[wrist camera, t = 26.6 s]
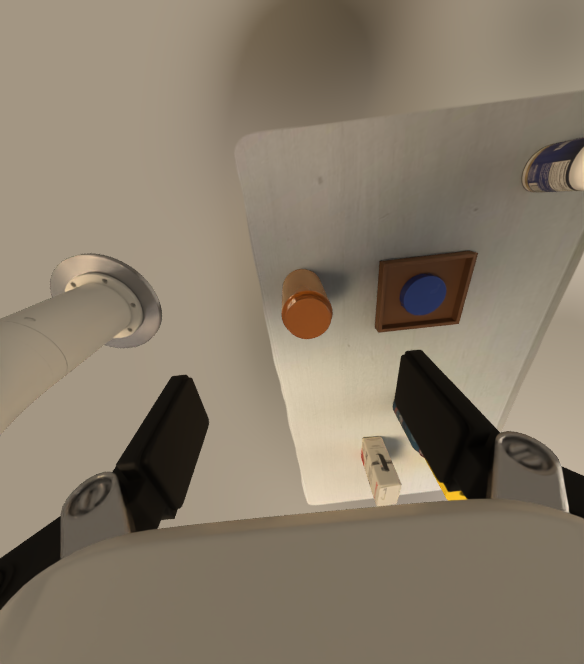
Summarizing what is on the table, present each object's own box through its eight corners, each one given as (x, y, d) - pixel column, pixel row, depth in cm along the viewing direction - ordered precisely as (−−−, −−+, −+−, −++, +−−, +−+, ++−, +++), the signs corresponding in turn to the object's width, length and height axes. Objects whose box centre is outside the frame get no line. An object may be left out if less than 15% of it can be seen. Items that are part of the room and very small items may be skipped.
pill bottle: (566, 136, 30) (677, 110, 22) (561, 181, 33) (658, 174, 24) (520, 156, 31) (609, 139, 23) (519, 199, 34) (598, 198, 25)
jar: (286, 309, 41) (286, 345, 31) (279, 272, 38) (276, 299, 27) (323, 303, 41) (336, 338, 30) (319, 265, 37) (332, 290, 27)
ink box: (379, 456, 63) (397, 506, 53) (360, 457, 63) (375, 507, 53) (382, 435, 59) (402, 485, 48) (362, 437, 59) (378, 487, 49)
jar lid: (443, 302, 41) (448, 305, 39) (403, 317, 42) (408, 321, 41) (437, 266, 38) (443, 268, 36) (395, 283, 39) (399, 287, 37)
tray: (374, 327, 43) (378, 332, 42) (379, 261, 37) (383, 264, 36) (452, 319, 43) (458, 323, 41) (469, 250, 37) (478, 252, 35)
